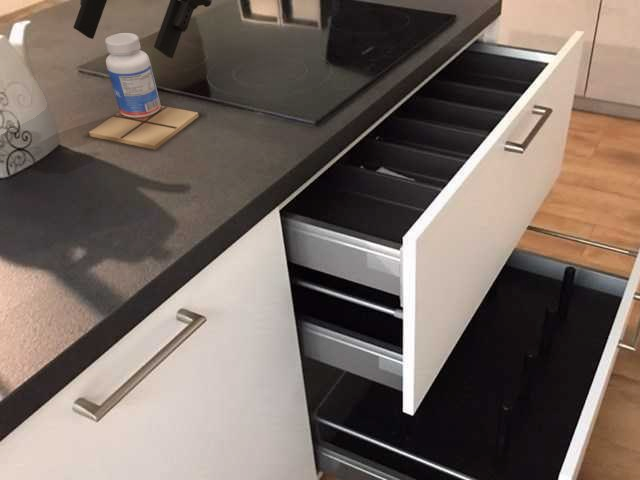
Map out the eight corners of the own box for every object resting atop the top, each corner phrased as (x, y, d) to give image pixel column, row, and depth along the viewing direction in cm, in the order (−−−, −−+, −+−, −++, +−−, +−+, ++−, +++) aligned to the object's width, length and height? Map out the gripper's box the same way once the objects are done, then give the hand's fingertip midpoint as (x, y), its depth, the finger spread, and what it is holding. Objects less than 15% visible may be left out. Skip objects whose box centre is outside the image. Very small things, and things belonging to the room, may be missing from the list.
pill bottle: (120, 104, 91) (99, 32, 84) (160, 99, 92) (143, 28, 86) (120, 121, 87) (98, 47, 81) (162, 116, 88) (144, 43, 82)
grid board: (91, 140, 86) (88, 131, 85) (138, 108, 93) (136, 100, 92) (156, 154, 83) (153, 144, 82) (199, 120, 90) (197, 111, 89)
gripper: (272, -83, 83) (217, 75, 83) (125, -104, 91) (74, 39, 91) (241, -126, 76) (179, 46, 76) (84, -144, 84) (28, 11, 84)
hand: (122, 43), depth 84 cm, fingers open, 13 cm apart
